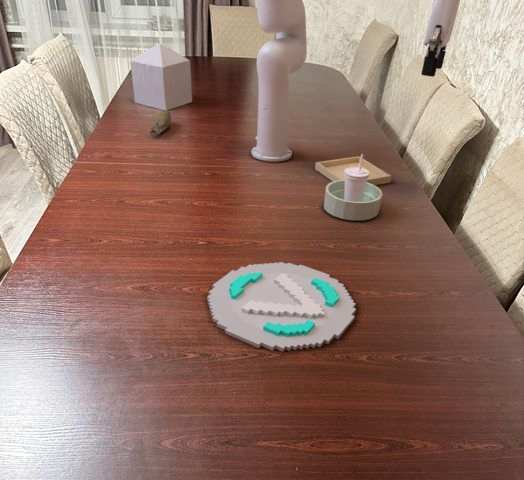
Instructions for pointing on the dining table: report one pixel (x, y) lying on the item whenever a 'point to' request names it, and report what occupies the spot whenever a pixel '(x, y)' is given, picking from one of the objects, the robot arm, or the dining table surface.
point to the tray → (338, 166)
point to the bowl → (352, 202)
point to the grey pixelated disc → (281, 306)
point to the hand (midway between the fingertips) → (431, 71)
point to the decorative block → (161, 78)
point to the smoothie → (355, 182)
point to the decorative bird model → (161, 122)
